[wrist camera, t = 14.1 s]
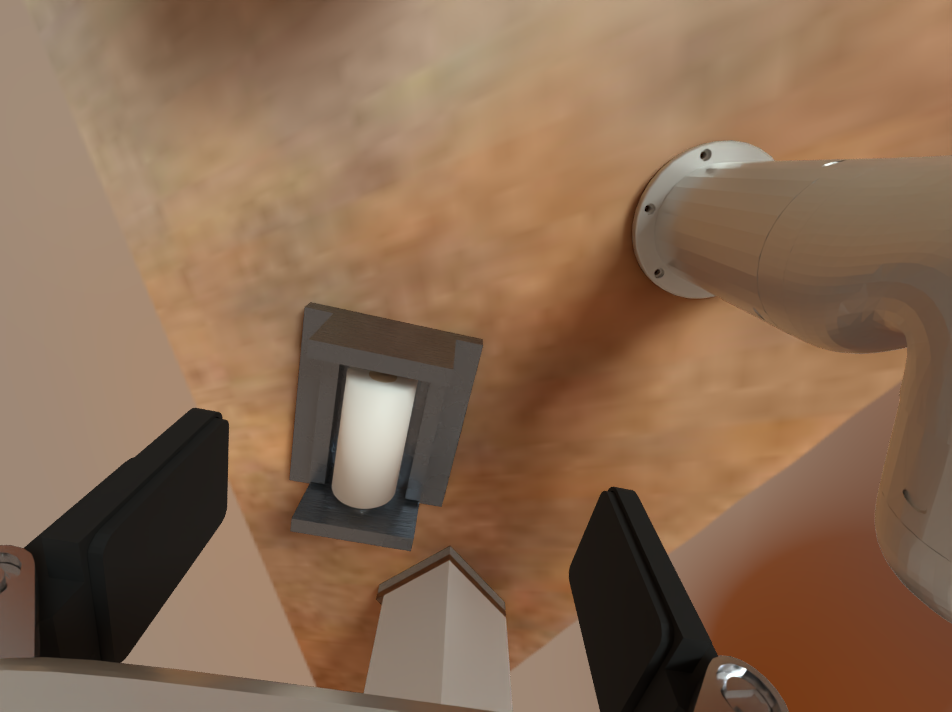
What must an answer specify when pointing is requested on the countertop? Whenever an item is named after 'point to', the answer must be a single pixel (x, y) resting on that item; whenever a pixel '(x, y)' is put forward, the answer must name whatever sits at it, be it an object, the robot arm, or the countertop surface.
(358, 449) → the kitchen roll
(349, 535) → the roll holder
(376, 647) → the white stand
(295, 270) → the countertop surface
